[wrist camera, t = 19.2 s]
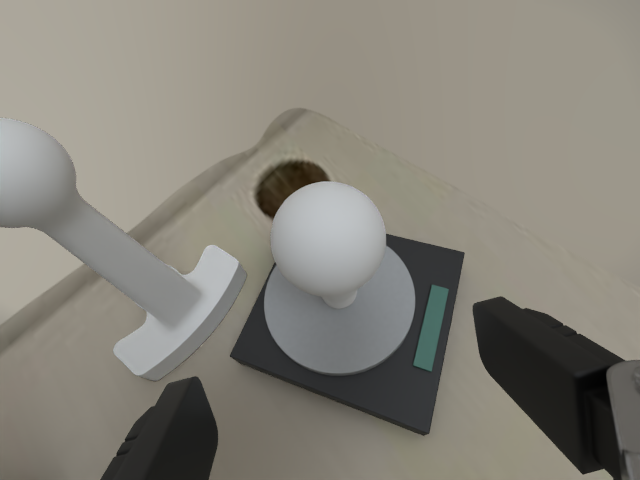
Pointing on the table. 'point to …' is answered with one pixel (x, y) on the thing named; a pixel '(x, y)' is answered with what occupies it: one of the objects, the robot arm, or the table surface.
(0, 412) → the table surface
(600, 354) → the robot arm
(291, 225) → the lightbulb
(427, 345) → the scale
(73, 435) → the table surface
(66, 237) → the joystick
